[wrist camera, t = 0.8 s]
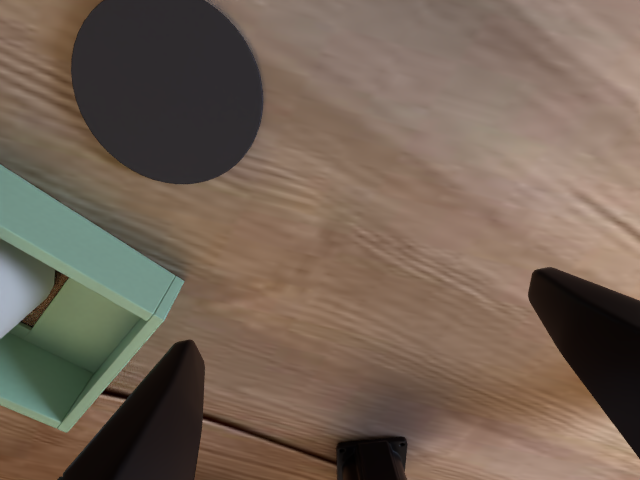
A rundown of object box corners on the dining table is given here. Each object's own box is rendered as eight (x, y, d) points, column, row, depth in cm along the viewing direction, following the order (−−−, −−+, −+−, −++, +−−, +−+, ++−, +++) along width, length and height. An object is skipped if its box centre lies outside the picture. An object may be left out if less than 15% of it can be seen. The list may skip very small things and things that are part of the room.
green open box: (185, 280, 24) (164, 320, 20) (100, 380, 27) (66, 433, 23) (-59, 126, 19) (-152, 137, 15) (-133, 268, 22) (-229, 310, 18)
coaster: (270, 178, 22) (270, 179, 22) (104, 187, 21) (101, 188, 21) (252, -15, 18) (252, -18, 18) (47, -12, 17) (42, -14, 17)
